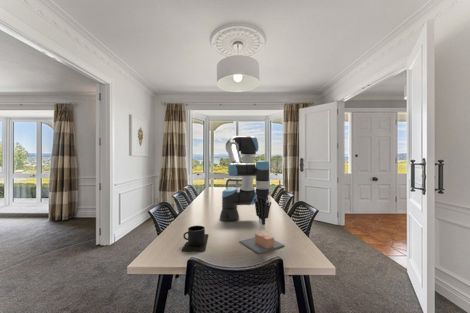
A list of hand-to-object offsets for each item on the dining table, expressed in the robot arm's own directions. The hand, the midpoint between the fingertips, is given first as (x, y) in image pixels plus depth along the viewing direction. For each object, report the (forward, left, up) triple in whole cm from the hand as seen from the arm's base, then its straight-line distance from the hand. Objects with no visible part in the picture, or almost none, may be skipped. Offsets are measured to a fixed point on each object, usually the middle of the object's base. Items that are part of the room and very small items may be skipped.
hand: (262, 229), depth 128 cm
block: (-3, 0, -5) cm, 6 cm away
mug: (-22, -32, -9) cm, 40 cm away
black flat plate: (-24, -31, -9) cm, 40 cm away
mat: (-1, 0, -9) cm, 9 cm away
